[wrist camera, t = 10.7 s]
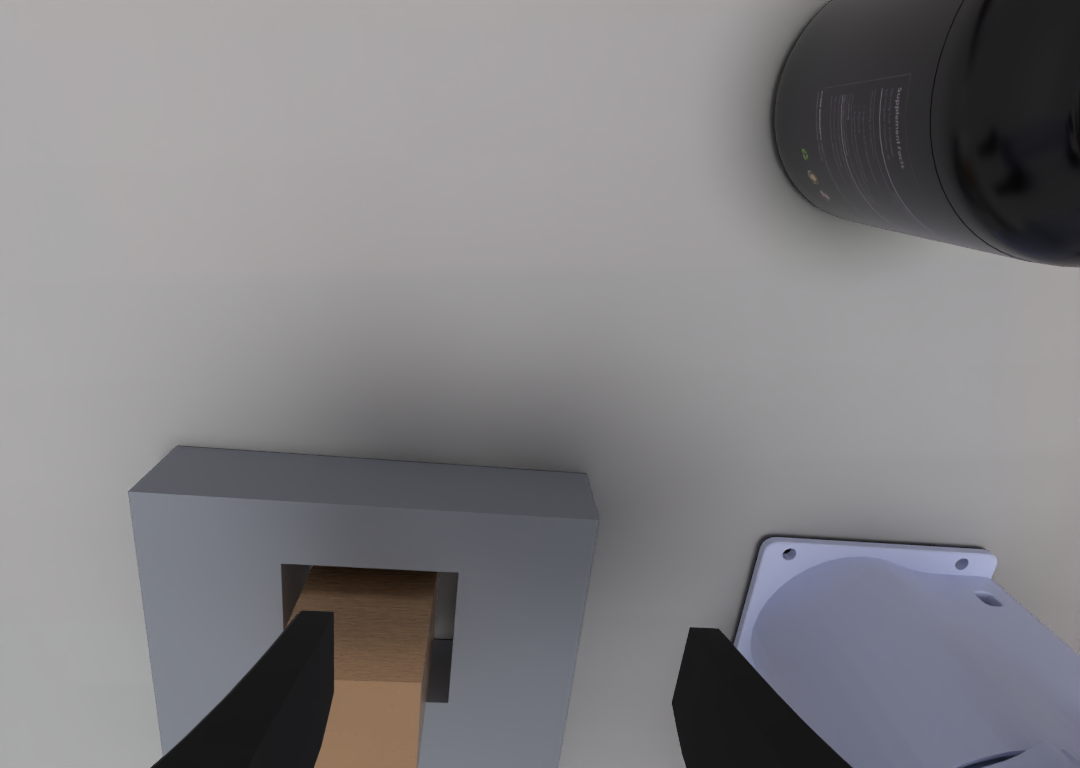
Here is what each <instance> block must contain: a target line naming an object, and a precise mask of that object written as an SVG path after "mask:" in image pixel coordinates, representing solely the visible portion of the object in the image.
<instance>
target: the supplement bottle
mask: <svg viewBox="0 0 1080 768" xmlns="http://www.w3.org/2000/svg"><path fill="white" fill-rule="evenodd" d="M774 125H775V136H776V142H777V147H778V151H779V154H780V158H781V161H782V163H783V165H784V168H785V170H786V172H787V173H788V175H789V177H790V179H791V180H792V182H793V183H794V185H795V186H796V187H797V189H798V190H799V191H800V192H801V193H802V194H803V195H804V196H805V197H806V198H807V199H808V200H809V201H810V202H811V203H813V204H814V205H816V206H817V207H818V208H820V209H822V210H824V211H826V212H827V213H830V214H832V215H834V216H837V217H839V218H842V219H846V220H849V221H853V222H857V223H861V224H864V225H869V226H873V227H877V228H882V229H886V230H891V231H895V232H899V233H904V234H908V235H913V236H917V237H922V238H926V239H930V240H935V241H939V242H944V243H948V244H953V245H957V246H961V247H966V248H970V249H975V250H979V251H984V252H988V253H992V254H997V255H1001V256H1006V257H1010V258H1015V259H1019V260H1024V261H1029V262H1035V263H1041V264H1048V265H1054V266H1062V267H1080V0H831V1H830V2H829V3H828V4H827V5H826V6H825V7H824V8H823V9H822V10H821V11H820V12H819V13H818V14H817V15H816V16H815V17H814V18H813V20H812V21H811V22H810V23H809V25H808V26H807V27H806V28H805V30H804V31H803V33H802V34H801V36H800V37H799V39H798V41H797V42H796V44H795V46H794V48H793V49H792V51H791V53H790V55H789V58H788V60H787V62H786V64H785V67H784V70H783V73H782V75H781V78H780V82H779V86H778V90H777V96H776V102H775V113H774Z"/></svg>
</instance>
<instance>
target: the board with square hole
mask: <svg viewBox="0 0 1080 768" xmlns="http://www.w3.org/2000/svg"><path fill="white" fill-rule="evenodd" d="M128 495H129V502H130V510H131V518H132V525H133V533H134V540H135V548H136V556H137V563H138V571H139V578H140V586H141V594H142V601H143V609H144V616H145V624H146V632H147V639H148V647H149V654H150V662H151V670H152V677H153V685H154V692H155V700H156V708H157V715H158V723H159V730H160V738H161V746H162V753H163V756H164V755H166V754H167V753H168V752H169V751H170V750H171V749H172V748H173V747H174V746H175V745H176V744H178V743H179V742H180V741H181V740H182V739H183V738H184V737H185V736H186V735H187V734H188V733H189V732H190V731H191V730H192V729H193V728H194V727H195V726H196V725H197V724H198V723H199V722H200V721H201V720H202V719H203V718H204V717H205V716H206V715H207V714H208V713H209V712H210V711H211V710H212V709H213V708H214V707H215V706H217V705H218V704H219V703H220V702H221V700H222V699H223V698H224V697H225V696H226V695H227V694H228V693H229V692H230V691H231V690H232V689H233V688H234V687H235V686H236V684H237V683H238V682H239V681H240V680H241V679H242V678H243V677H244V676H245V675H246V674H247V673H248V671H249V670H250V669H251V668H252V667H253V666H254V665H255V664H256V663H257V661H258V660H259V659H260V658H261V657H262V656H263V655H264V653H265V652H266V651H267V650H268V649H269V648H270V646H271V645H272V644H273V643H274V642H275V640H276V639H277V638H278V637H279V636H280V634H281V633H282V632H283V631H284V630H285V628H286V626H287V624H288V621H289V619H290V617H291V615H292V612H293V610H294V608H295V605H296V603H297V601H298V599H299V596H300V594H301V592H302V589H303V587H304V585H305V583H306V580H307V578H308V576H309V565H318V566H338V567H358V568H377V569H397V570H416V571H436V572H456V573H459V574H458V586H457V599H456V612H455V624H454V637H453V640H436V639H434V645H433V653H432V661H431V669H430V677H429V685H428V693H427V701H426V709H425V717H424V725H423V733H422V741H421V748H420V756H419V764H418V768H558V765H559V759H560V753H561V747H562V741H563V735H564V729H565V723H566V717H567V711H568V705H569V699H570V693H571V687H572V681H573V675H574V669H575V663H576V657H577V651H578V645H579V639H580V633H581V627H582V621H583V615H584V609H585V603H586V597H587V591H588V585H589V579H590V573H591V567H592V561H593V555H594V549H595V543H596V537H597V531H598V525H599V517H598V513H597V510H596V506H595V502H594V499H593V495H592V492H591V488H590V484H589V481H588V477H587V474H583V473H569V472H554V471H539V470H524V469H510V468H495V467H480V466H466V465H451V464H436V463H421V462H407V461H392V460H377V459H362V458H348V457H333V456H318V455H303V454H289V453H274V452H259V451H244V450H230V449H215V448H200V447H185V446H176V447H175V448H174V449H173V450H172V451H171V452H170V453H169V454H168V455H167V456H165V457H164V458H163V459H162V460H161V461H160V462H159V463H158V464H157V465H156V466H155V467H154V468H153V469H152V470H151V471H149V472H148V473H147V474H146V475H145V476H144V477H143V478H142V479H141V480H140V481H139V482H138V483H137V484H136V485H135V486H134V487H132V488H131V489H130V490H129V491H128Z"/></svg>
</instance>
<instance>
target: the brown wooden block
mask: <svg viewBox="0 0 1080 768" xmlns="http://www.w3.org/2000/svg"><path fill="white" fill-rule="evenodd" d="M439 578H440V572H436V571H416V570H397V569H377V568H358V567H338V566H318V565H313V567H312V569H311V571H310V573H309V576H308V578H307V580H306V583H305V585H304V587H303V589H302V592H301V594H300V596H299V599H298V601H297V603H296V605H295V608H294V610H293V612H292V615H291V617H290V619H289V621H288V624H287V626H288V625H289V623H290V622H291V621H292V620H293V618H294V617H295V616H296V615H297V614H298V613H299V612H301V611H302V610H305V611H328V612H334V695H333V699H332V704H331V708H330V712H329V717H328V721H327V725H326V729H325V733H324V738H323V742H322V746H321V749H320V752H319V755H318V758H317V761H316V763H315V766H314V768H418V764H419V756H420V748H421V741H422V733H423V725H424V717H425V709H426V701H427V693H428V685H429V677H430V669H431V661H432V653H433V645H434V637H435V629H436V621H437V608H438V593H439ZM287 626H286V627H287Z"/></svg>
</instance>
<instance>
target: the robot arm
mask: <svg viewBox="0 0 1080 768" xmlns="http://www.w3.org/2000/svg"><path fill="white" fill-rule="evenodd" d="M787 549H791V550H790V552H788V553H786V554H783V552H784V551H785V550H787ZM958 560H960V561H959V562H957V561H958ZM956 562H957V563H956ZM996 566H997V558H996V557H995V556H994V555H993V554H992V553H990V552H989V551H988V550H984V549H969V548H952V547H935V546H919V545H902V544H885V543H868V542H851V541H835V540H818V539H801V538H784V537H772V538H769V539H767V540H765V541H764V542H763V543H762V545H761V547H760V550H759V554H758V558H757V561H756V565H755V568H754V572H753V576H752V579H751V583H750V587H749V590H748V594H747V598H746V601H745V605H744V609H743V612H742V616H741V620H740V623H739V627H738V631H737V634H736V638H735V641H734V645H733V644H732V643H731V642H730V641H729V640H728V638H727V637H726V636H725V635H724V634H723V633H722V632H721V631H720V630H719V629H714V628H691V627H690V630H689V634H688V638H687V642H686V646H685V650H684V654H683V659H682V663H681V667H680V671H679V675H678V679H677V683H676V688H675V692H674V696H673V700H672V706H673V711H674V716H675V722H676V727H677V732H678V737H679V741H680V746H681V750H682V755H683V758H684V761H685V764H686V768H1080V656H1079V655H1078V654H1077V653H1076V652H1074V651H1073V650H1072V649H1071V648H1070V647H1069V646H1068V645H1066V644H1065V643H1064V642H1063V641H1062V640H1061V639H1060V638H1058V637H1057V636H1056V635H1055V634H1054V633H1053V632H1052V631H1050V630H1049V629H1048V628H1047V627H1046V626H1045V625H1044V624H1042V623H1041V622H1040V621H1039V620H1038V619H1037V618H1036V617H1034V616H1033V615H1032V614H1031V613H1030V612H1029V611H1028V610H1026V609H1025V608H1024V607H1023V606H1022V605H1021V604H1020V603H1018V602H1017V601H1016V600H1015V599H1014V598H1013V597H1012V596H1010V595H1009V594H1008V593H1007V592H1006V591H1005V590H1004V589H1002V588H1001V587H1000V586H999V585H998V584H997V583H996V582H994V581H993V580H992V579H991V578H992V575H993V573H994V571H995V568H996ZM333 695H334V612H328V611H305V610H302V611H301V612H299V613H298V614H297V615H296V616H295V617H294V618H293V620H292V621H291V622H290V623H289V625H288V626H287V627H286V628H285V630H284V631H283V632H282V633H281V634H280V636H279V637H278V638H277V639H276V640H275V642H274V643H273V644H272V645H271V646H270V648H269V649H268V650H267V651H266V652H265V653H264V655H263V656H262V657H261V658H260V659H259V660H258V661H257V663H256V664H255V665H254V666H253V667H252V668H251V669H250V670H249V671H248V673H247V674H246V675H245V676H244V677H243V678H242V679H241V680H240V681H239V682H238V683H237V684H236V686H235V687H234V688H233V689H232V690H231V691H230V692H229V693H228V694H227V695H226V696H225V697H224V698H223V699H222V700H221V702H220V703H219V704H218V705H217V706H215V707H214V708H213V709H212V710H211V711H210V712H209V713H208V714H207V715H206V716H205V717H204V718H203V719H202V720H201V721H200V722H199V723H198V724H197V725H196V726H195V727H194V728H193V729H192V730H191V731H190V732H189V733H188V734H187V735H186V736H185V737H184V738H183V739H182V740H181V741H180V742H179V743H178V744H176V745H175V746H174V747H173V748H172V749H171V750H170V751H169V752H168V753H167V754H166V755H164V756H163V757H162V758H161V759H160V760H159V761H158V762H157V763H155V764H154V765H153V766H152V767H151V768H314V766H315V763H316V761H317V758H318V755H319V752H320V749H321V746H322V742H323V738H324V733H325V729H326V725H327V721H328V717H329V712H330V708H331V704H332V699H333Z"/></svg>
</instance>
